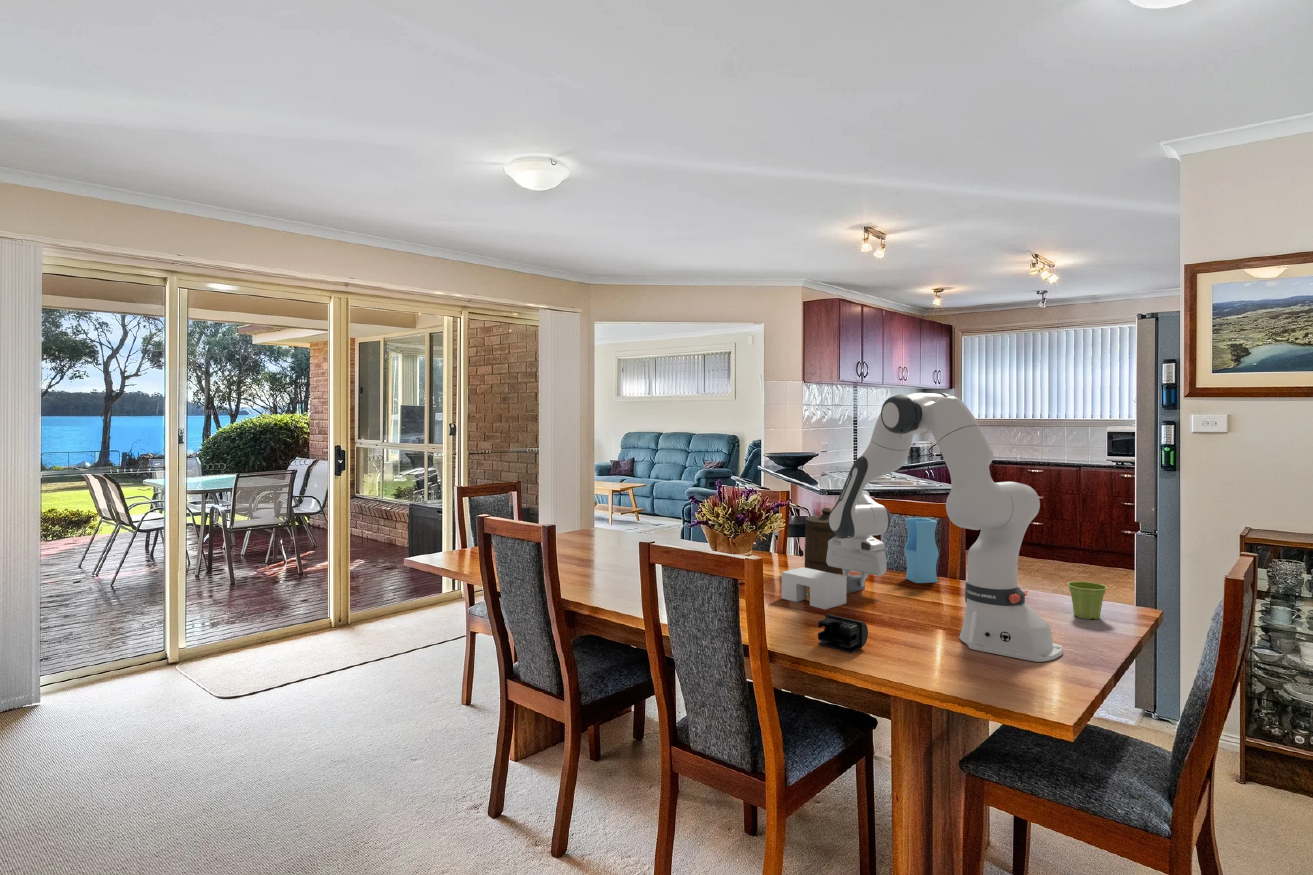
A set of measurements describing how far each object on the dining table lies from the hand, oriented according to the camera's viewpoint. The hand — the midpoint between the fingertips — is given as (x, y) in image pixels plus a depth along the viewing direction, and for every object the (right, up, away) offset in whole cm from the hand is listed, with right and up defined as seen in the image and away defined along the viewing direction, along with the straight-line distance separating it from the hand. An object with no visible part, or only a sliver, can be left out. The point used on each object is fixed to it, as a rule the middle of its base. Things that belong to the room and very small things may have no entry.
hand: (855, 584), depth 231 cm
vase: (+25, -1, +12) cm, 28 cm away
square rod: (-7, -2, -6) cm, 10 cm away
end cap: (-18, -4, -54) cm, 57 cm away
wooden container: (-3, -1, +28) cm, 28 cm away
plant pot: (+55, -3, -30) cm, 63 cm away
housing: (-16, -2, -13) cm, 21 cm away
